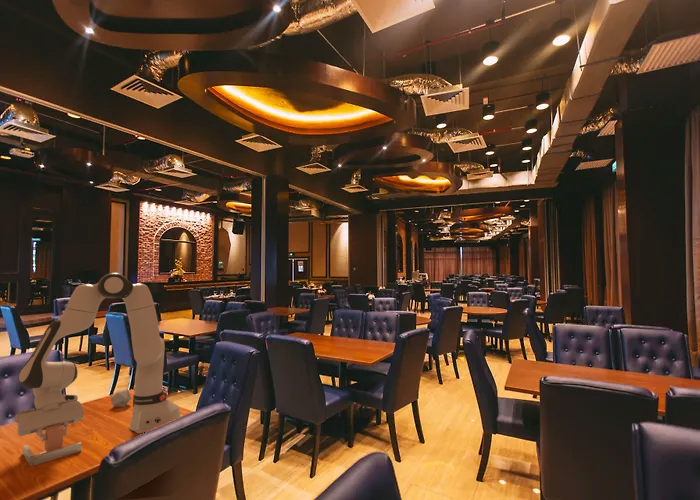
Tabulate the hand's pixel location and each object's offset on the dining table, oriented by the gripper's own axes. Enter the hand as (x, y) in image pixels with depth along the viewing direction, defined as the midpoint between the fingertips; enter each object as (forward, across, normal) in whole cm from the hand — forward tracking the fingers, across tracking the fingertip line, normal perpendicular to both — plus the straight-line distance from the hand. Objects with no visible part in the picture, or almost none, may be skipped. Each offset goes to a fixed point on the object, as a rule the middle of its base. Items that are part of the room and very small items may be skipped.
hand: (54, 437), depth 140 cm
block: (+3, 0, +4) cm, 4 cm away
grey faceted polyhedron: (-21, +34, +30) cm, 50 cm away
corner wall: (+4, 0, +5) cm, 6 cm away
